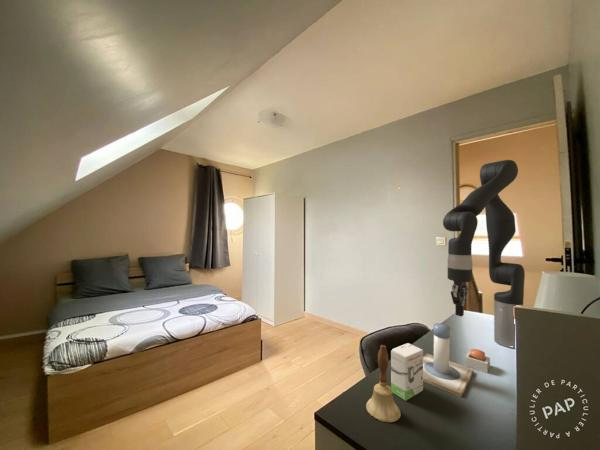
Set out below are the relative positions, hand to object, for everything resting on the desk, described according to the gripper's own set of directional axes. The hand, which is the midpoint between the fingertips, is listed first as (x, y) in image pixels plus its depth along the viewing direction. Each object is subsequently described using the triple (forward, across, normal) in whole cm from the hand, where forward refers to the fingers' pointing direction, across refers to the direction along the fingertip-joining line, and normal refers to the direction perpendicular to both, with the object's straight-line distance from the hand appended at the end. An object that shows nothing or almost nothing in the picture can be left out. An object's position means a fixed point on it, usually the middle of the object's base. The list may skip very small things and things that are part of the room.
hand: (459, 315), depth 87 cm
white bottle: (+14, -15, +2) cm, 21 cm away
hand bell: (+16, -44, +7) cm, 47 cm away
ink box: (+16, -32, +6) cm, 36 cm away
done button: (+13, 0, -5) cm, 14 cm away
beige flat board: (+16, -15, +2) cm, 21 cm away
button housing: (+16, 0, -5) cm, 17 cm away
